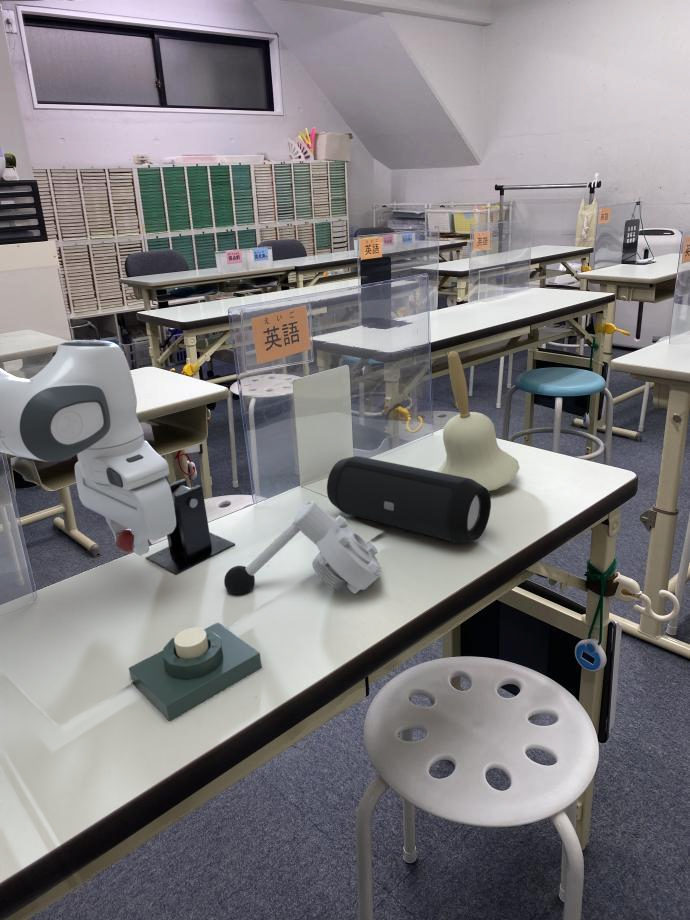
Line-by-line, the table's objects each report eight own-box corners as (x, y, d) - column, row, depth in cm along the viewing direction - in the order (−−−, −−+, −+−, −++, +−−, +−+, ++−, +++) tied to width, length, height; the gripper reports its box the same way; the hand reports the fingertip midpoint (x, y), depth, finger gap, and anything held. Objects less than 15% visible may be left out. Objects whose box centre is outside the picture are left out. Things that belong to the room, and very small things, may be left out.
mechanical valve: (390, 582, 89) (308, 507, 86) (295, 668, 92) (212, 599, 89) (383, 550, 99) (309, 481, 96) (297, 628, 102) (222, 564, 99)
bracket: (176, 580, 99) (163, 507, 95) (147, 564, 104) (132, 493, 100) (236, 550, 107) (226, 480, 102) (205, 536, 112) (194, 469, 108)
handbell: (536, 483, 119) (514, 346, 109) (455, 512, 117) (425, 375, 107) (497, 453, 133) (475, 330, 123) (425, 478, 131) (396, 355, 121)
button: (186, 664, 75) (184, 651, 75) (170, 650, 78) (168, 637, 77) (214, 649, 78) (212, 636, 77) (198, 636, 80) (195, 623, 79)
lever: (130, 560, 96) (119, 543, 94) (118, 553, 98) (107, 536, 96) (200, 504, 102) (191, 486, 101) (186, 498, 105) (178, 481, 103)
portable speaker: (325, 520, 114) (321, 465, 110) (360, 498, 121) (356, 445, 118) (463, 558, 99) (463, 496, 96) (493, 530, 107) (494, 471, 103)
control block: (169, 722, 72) (163, 692, 71) (131, 683, 79) (125, 654, 77) (262, 668, 79) (258, 639, 78) (220, 636, 86) (216, 609, 84)
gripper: (55, 450, 97) (77, 536, 102) (132, 482, 84) (152, 579, 89) (96, 437, 101) (115, 520, 106) (175, 465, 88) (192, 559, 93)
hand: (132, 547), depth 97 cm, fingers closed on lever, 3 cm apart
